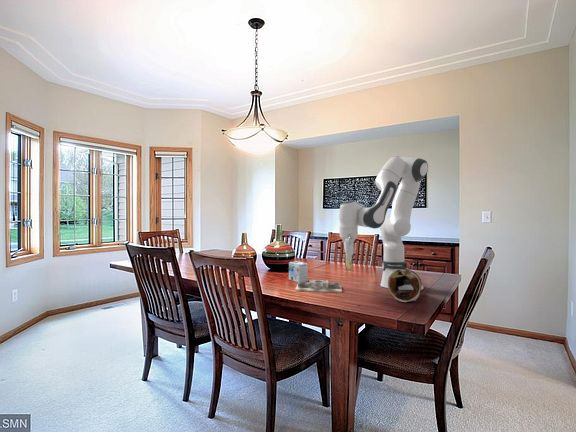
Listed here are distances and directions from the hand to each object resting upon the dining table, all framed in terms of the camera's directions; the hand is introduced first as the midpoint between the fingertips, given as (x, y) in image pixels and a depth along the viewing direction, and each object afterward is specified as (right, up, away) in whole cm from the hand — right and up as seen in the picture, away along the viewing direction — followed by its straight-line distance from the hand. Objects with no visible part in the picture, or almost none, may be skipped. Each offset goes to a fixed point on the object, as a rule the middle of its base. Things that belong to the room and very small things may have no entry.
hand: (348, 261), depth 168 cm
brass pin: (0, -4, 0) cm, 4 cm away
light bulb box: (-24, -16, +35) cm, 46 cm away
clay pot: (+28, -17, -1) cm, 33 cm away
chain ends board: (-14, -17, +14) cm, 26 cm away
